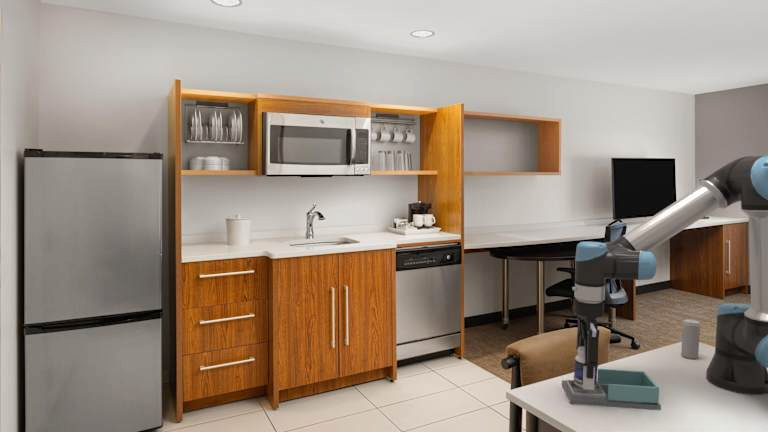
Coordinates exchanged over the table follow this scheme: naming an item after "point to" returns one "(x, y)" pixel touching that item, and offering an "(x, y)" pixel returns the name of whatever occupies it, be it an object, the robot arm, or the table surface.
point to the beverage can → (690, 339)
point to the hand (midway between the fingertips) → (585, 383)
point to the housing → (629, 385)
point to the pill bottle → (581, 368)
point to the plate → (600, 397)
